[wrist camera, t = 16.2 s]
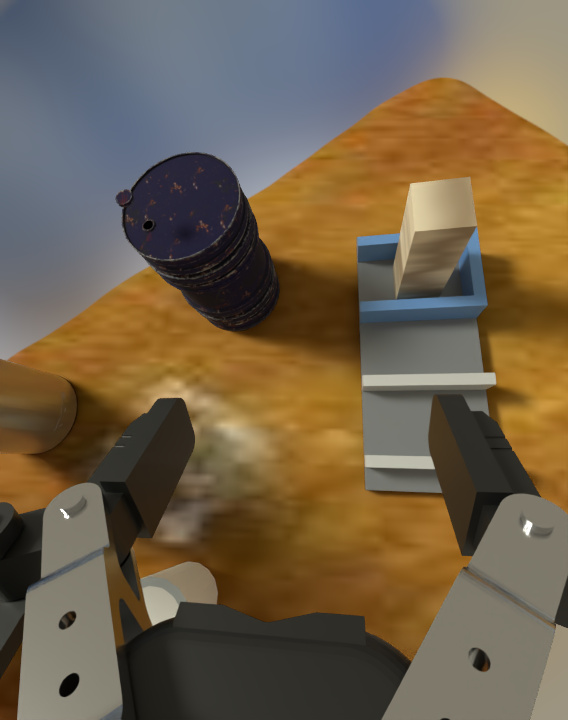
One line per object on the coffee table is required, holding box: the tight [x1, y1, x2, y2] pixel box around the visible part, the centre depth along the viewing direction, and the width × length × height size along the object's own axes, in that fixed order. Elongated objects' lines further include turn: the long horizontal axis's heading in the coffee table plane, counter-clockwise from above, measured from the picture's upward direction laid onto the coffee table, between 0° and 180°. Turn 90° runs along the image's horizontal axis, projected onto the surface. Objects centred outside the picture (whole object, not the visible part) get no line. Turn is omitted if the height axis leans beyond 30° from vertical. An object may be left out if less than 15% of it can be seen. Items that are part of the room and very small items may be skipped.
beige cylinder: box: [140, 561, 218, 625], centre depth 30 cm, size 7×7×7 cm
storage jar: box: [116, 152, 279, 331], centre depth 33 cm, size 10×10×18 cm
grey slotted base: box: [357, 227, 496, 493], centre depth 34 cm, size 11×26×4 cm, turn 179°
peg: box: [393, 177, 477, 300], centre depth 31 cm, size 4×4×12 cm
